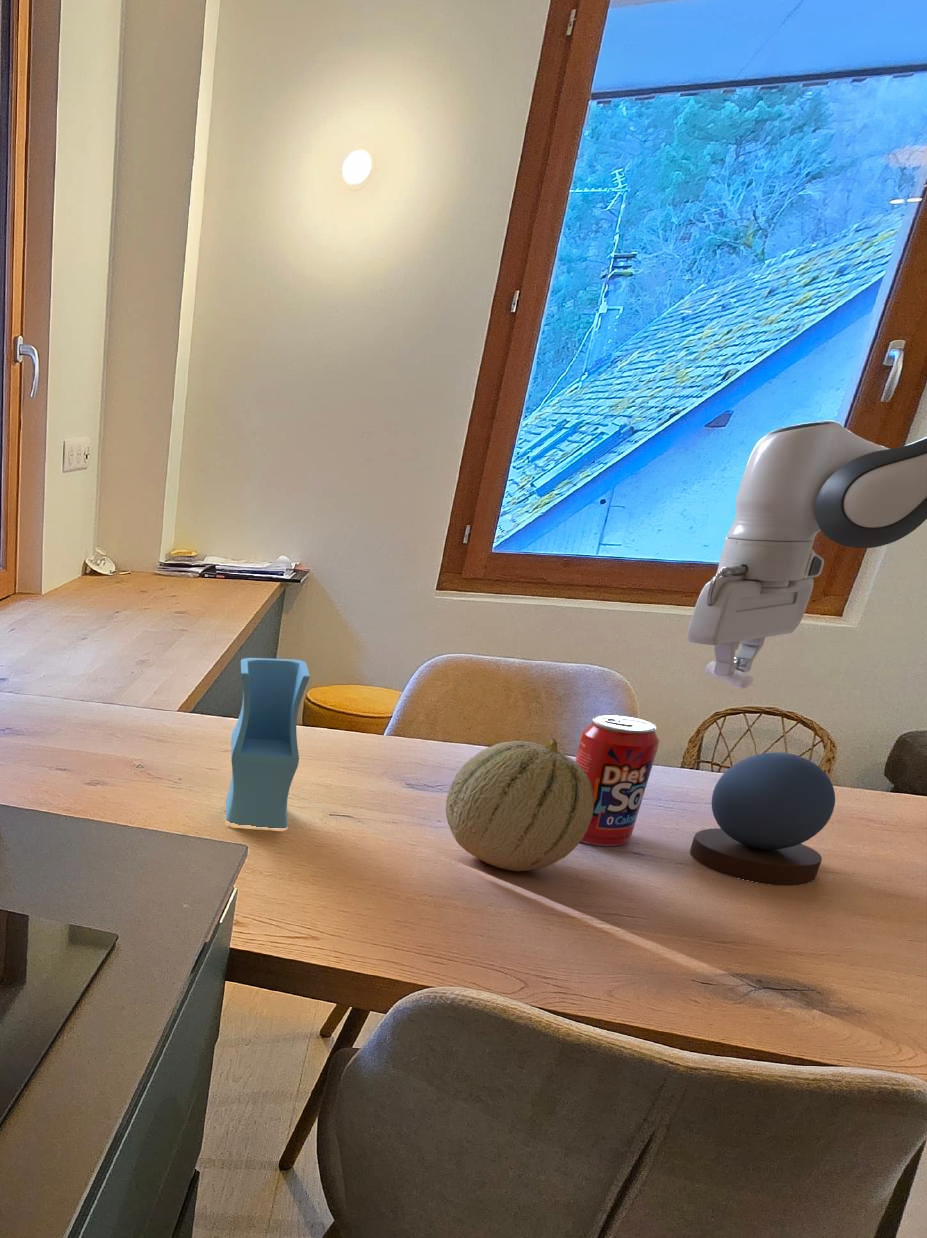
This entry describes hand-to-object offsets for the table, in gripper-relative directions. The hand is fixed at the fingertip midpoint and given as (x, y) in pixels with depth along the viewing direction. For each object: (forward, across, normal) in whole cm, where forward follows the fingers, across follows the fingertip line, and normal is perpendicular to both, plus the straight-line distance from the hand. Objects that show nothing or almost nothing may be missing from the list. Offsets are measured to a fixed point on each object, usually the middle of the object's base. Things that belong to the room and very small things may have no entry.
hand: (731, 673), depth 133 cm
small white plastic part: (+2, 0, 0) cm, 2 cm away
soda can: (+18, -26, -2) cm, 32 cm away
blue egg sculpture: (+18, -18, -16) cm, 30 cm away
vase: (+17, -58, +23) cm, 65 cm away
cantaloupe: (+18, -43, -2) cm, 47 cm away
